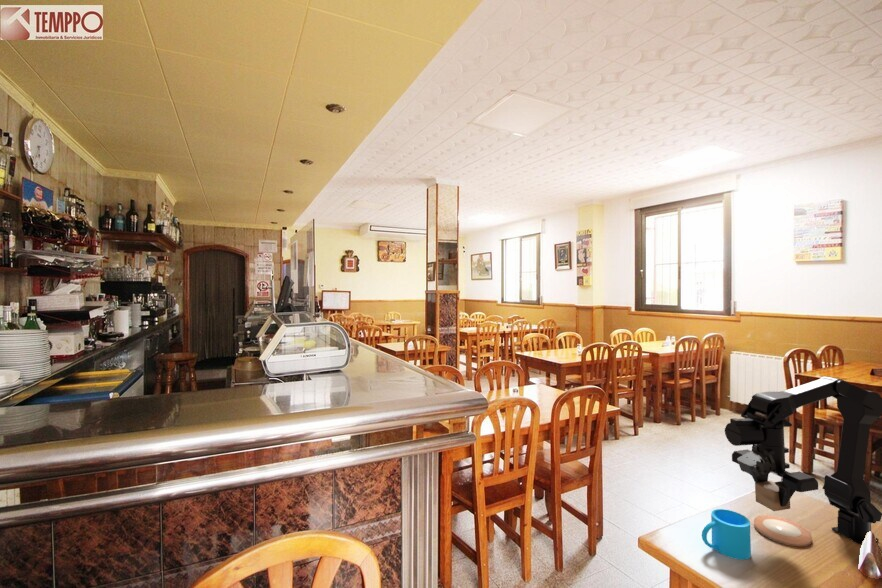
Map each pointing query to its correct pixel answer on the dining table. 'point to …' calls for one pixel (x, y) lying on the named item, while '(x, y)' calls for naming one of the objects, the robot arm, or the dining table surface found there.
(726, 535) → the mug
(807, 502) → the dining table surface
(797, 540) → the terracotta dish
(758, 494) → the walnut block
